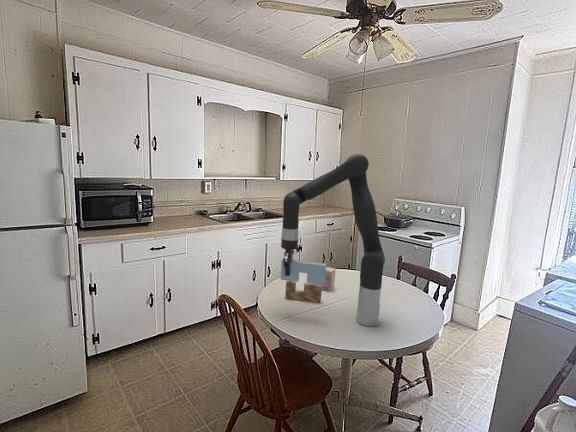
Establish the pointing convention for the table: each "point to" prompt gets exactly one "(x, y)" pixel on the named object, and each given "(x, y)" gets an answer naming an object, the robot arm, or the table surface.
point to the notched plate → (313, 270)
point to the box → (329, 279)
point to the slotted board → (303, 292)
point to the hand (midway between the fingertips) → (287, 274)
